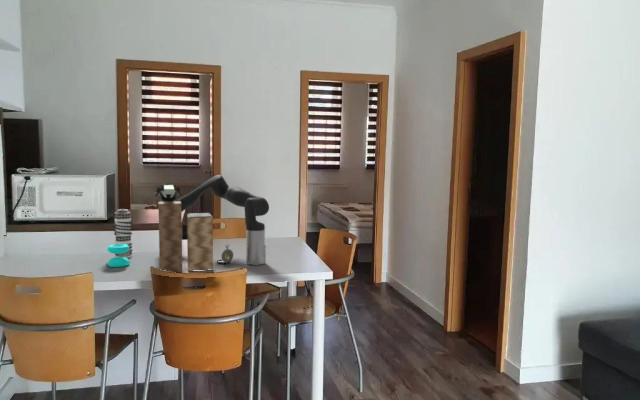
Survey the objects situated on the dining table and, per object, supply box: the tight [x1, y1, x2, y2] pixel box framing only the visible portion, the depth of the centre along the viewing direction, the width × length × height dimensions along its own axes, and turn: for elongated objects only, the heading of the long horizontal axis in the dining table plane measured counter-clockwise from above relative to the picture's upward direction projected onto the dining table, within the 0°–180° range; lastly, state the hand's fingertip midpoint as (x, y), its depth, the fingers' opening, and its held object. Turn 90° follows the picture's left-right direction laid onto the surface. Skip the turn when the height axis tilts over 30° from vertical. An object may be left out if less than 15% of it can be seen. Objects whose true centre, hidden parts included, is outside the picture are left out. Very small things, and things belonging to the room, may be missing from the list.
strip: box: [164, 184, 174, 194], centre depth 243 cm, size 4×24×2 cm, turn 18°
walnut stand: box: [158, 201, 183, 273], centre depth 234 cm, size 10×10×32 cm
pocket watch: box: [216, 243, 234, 264], centre depth 250 cm, size 8×8×10 cm
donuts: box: [106, 243, 131, 268], centre depth 242 cm, size 10×10×10 cm
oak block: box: [186, 212, 214, 272], centre depth 238 cm, size 11×12×26 cm
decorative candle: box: [113, 208, 133, 259], centre depth 261 cm, size 9×9×25 cm
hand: (168, 185), depth 250 cm, fingers closed on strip, 4 cm apart
